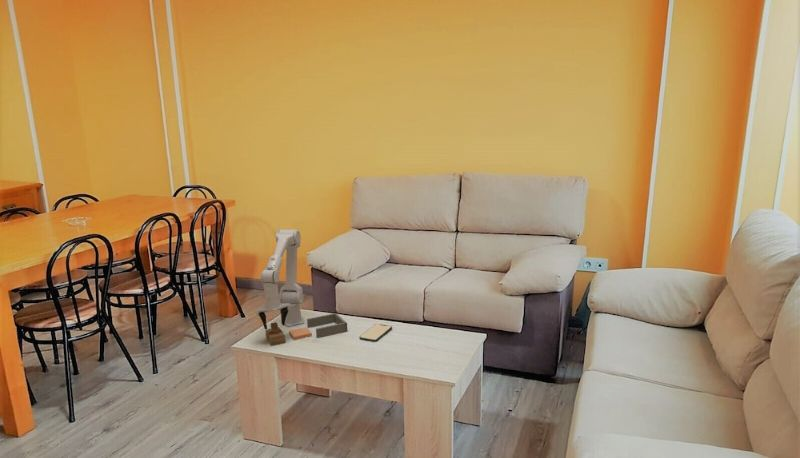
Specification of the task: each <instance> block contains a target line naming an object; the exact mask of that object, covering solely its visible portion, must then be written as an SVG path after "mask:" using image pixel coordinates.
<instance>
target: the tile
mask: <svg viewBox="0 0 800 458" xmlns="http://www.w3.org/2000/svg"><path fill="white" fill-rule="evenodd" d="M288 335H289V336H290V338H292V340H293V341H298V340H302V339H306V337H307V338H310V337H313V334H312V332H311V331H310V329H309V328H308V327H306V326H305V327H300V328H295V329H291V330H290V329H289V330H288ZM297 339H298V340H297Z"/></svg>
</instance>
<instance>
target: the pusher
mask: <svg viewBox="0 0 800 458" xmlns="http://www.w3.org/2000/svg"><path fill="white" fill-rule="evenodd" d="M264 331H265V339H266V341H268V343H269V344H270V346H271V347H275V346H279V345H283V344H286V335H285V333H284V332H283V330H282V329H281V328H280V327H279V325H278V323H277V321H275V322H270V328H267V329H264Z"/></svg>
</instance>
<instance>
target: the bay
mask: <svg viewBox="0 0 800 458" xmlns="http://www.w3.org/2000/svg"><path fill="white" fill-rule="evenodd" d="M306 322H307V323H306V324H307V329H310V328H315V327H317V328H315V334H316V335H315V336H316V339H317V338H318V339H319V338H324V337H329V336H332V335H336V334H342V333H346V332H348V322H347V321H346V320H344V318H342V317H341V316H340V315H339V314H338V313H337V312H334V313H331V314H324V315H320V316H315V317H311V318H310V317H309V318H306ZM329 324H330V325H329ZM331 324H332V325H331ZM324 325H326V326H324ZM319 326H321V327H319Z"/></svg>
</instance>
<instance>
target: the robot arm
mask: <svg viewBox="0 0 800 458" xmlns="http://www.w3.org/2000/svg"><path fill="white" fill-rule="evenodd" d="M301 237H302V235H301V232H300V231H299V229H282V228H281V229H280V228H278V229H277V230H276V232H275V241H276V246H275V248H274V249H275V250H274V252H273V254H272V255H271V256H269V259H268V262H267V264H266V266H265V269H263V270H262V271H261V273H260V282H261V285H262V287H263V291H264V292H263V293H264V300H265V303H264V304H265V305H264V306H261V307H258V308H255V309H254V311H255V314H256V315H258V316H259V318H260V320H261V322H262V324H263V328H264V330H267V329H268V325H267V315H266V313H269V312H276V311H280V316H281V325H282V326H283V327H284V326H285V325H286V327H292V326H298V325H303V324H304V323H305V322H304V320H303V319H302V311H301V304H302V303H303V301H304V292H303V287H302V286H301V285H299V284H298V283H297V282H298V281H297V280H298V279H297V274H298V272H297V271H298V248H299V247H301V239H302V238H301ZM285 251H286V255H285V257H286V259H285V262H286V263H285V284H284V285H283V286H281V287H280V290H279V288H278V287H279V286H278V284H279V280H280V273H281V272H280V270H281V267H282V265H283V262H284V260H283V256H284V253H285Z"/></svg>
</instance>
